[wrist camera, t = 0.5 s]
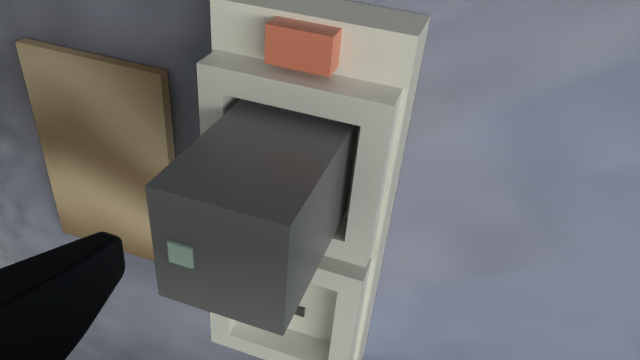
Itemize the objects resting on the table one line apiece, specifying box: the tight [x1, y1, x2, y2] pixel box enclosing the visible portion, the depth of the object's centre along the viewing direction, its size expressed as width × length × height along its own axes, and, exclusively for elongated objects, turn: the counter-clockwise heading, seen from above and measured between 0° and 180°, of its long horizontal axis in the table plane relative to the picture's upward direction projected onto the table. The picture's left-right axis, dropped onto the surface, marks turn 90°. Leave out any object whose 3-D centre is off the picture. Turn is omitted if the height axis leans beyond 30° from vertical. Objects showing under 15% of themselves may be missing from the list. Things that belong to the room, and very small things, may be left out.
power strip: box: [196, 0, 431, 360], centre depth 24 cm, size 19×8×4 cm, turn 175°
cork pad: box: [15, 38, 175, 261], centre depth 29 cm, size 12×8×1 cm, turn 175°
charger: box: [145, 99, 358, 336], centre depth 19 cm, size 4×4×7 cm
